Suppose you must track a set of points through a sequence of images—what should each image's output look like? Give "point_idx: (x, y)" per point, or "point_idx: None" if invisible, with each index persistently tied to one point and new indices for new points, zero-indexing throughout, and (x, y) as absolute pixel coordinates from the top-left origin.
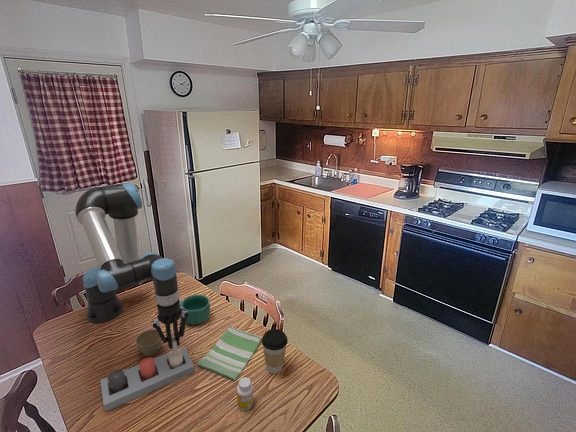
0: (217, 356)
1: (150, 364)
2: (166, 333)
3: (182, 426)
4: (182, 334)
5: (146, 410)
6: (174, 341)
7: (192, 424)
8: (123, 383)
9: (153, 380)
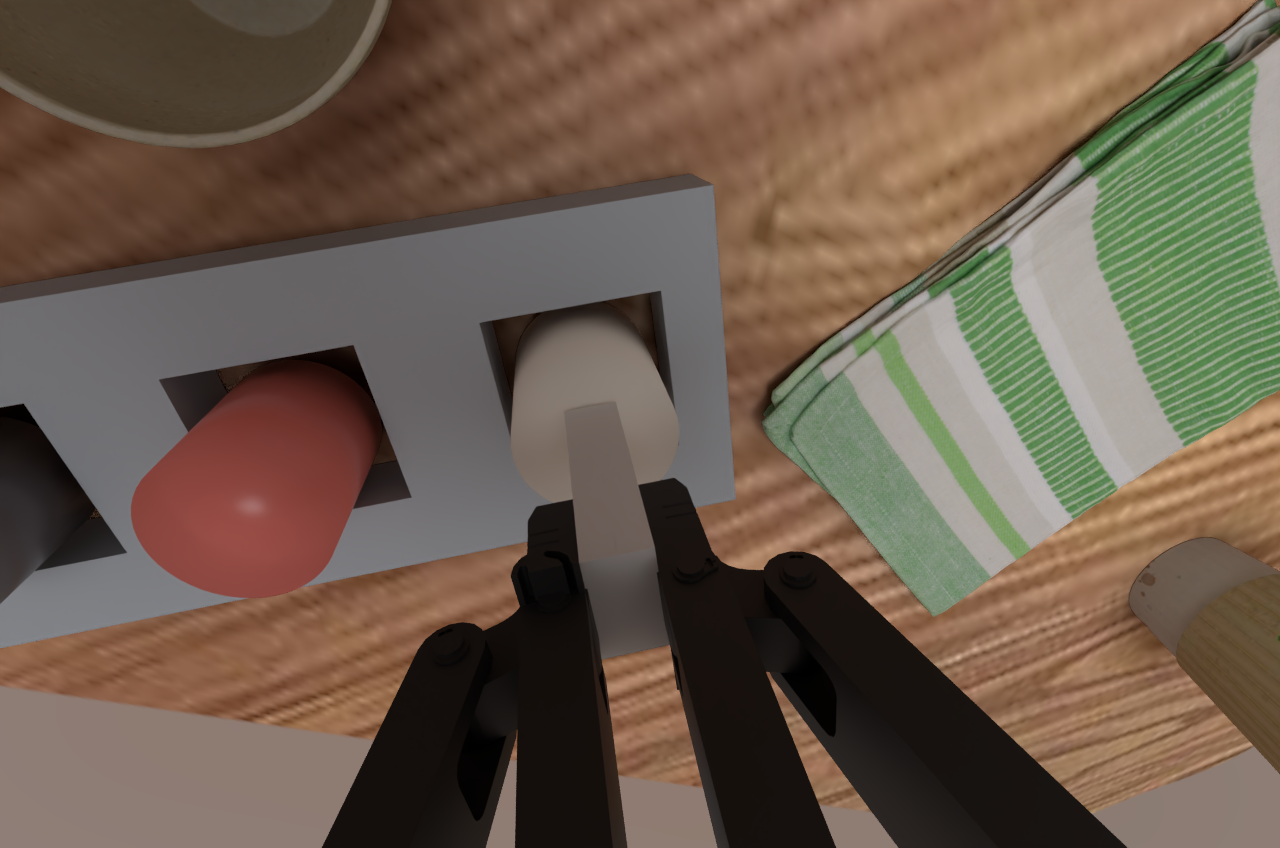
0: (943, 378)
1: (295, 563)
2: (519, 717)
3: None
4: (812, 681)
5: (349, 653)
6: (639, 648)
7: (622, 764)
8: (37, 566)
9: (365, 544)
